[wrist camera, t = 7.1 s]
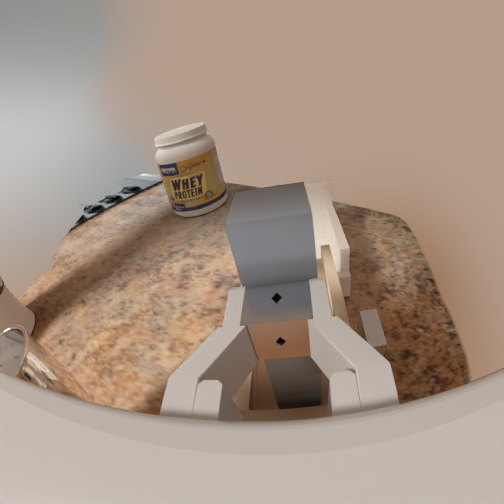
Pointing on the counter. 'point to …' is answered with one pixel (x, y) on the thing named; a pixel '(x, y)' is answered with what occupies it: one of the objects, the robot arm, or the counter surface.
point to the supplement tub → (190, 170)
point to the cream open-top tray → (329, 230)
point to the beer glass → (36, 363)
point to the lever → (281, 271)
